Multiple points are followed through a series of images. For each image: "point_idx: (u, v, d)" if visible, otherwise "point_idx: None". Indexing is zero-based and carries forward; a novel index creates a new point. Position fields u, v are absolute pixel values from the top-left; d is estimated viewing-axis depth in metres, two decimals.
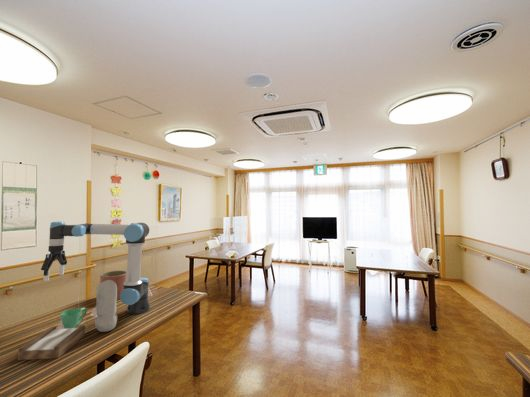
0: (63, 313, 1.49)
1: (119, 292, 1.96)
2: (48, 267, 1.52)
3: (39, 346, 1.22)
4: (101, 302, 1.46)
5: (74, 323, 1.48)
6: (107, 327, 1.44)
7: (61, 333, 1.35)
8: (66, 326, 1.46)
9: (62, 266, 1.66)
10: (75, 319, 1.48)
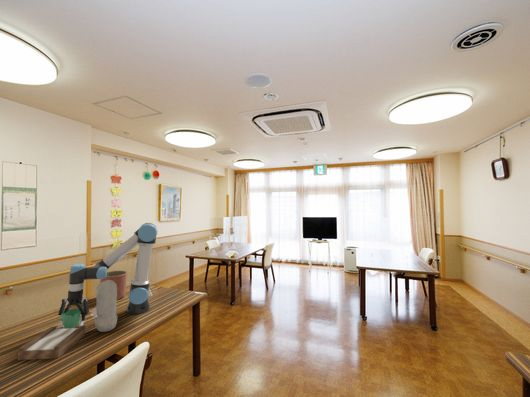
0: (63, 313, 1.49)
1: (119, 292, 1.96)
2: None
3: (39, 346, 1.22)
4: (101, 302, 1.46)
5: (74, 323, 1.48)
6: (107, 327, 1.44)
7: (61, 333, 1.35)
8: (66, 326, 1.46)
9: None
10: (75, 319, 1.48)
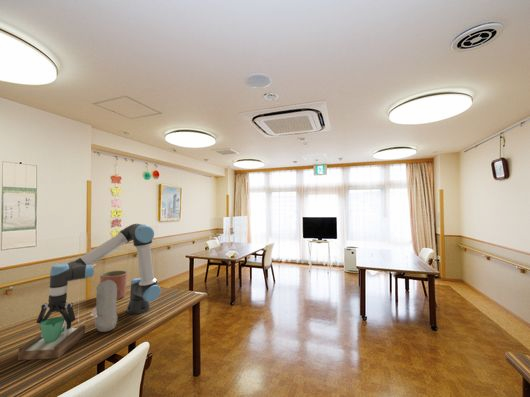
0: (43, 322, 1.29)
1: (119, 292, 1.96)
2: (41, 321, 1.29)
3: (39, 346, 1.22)
4: (101, 302, 1.46)
5: (56, 334, 1.27)
6: (107, 327, 1.44)
7: None
8: (46, 337, 1.25)
9: None
10: (57, 329, 1.27)
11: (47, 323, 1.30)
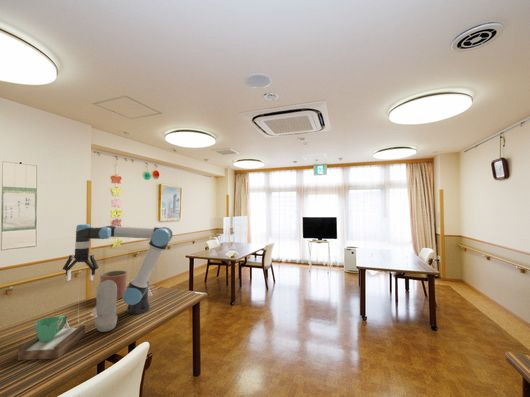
0: (38, 322, 1.28)
1: (119, 292, 1.96)
2: (67, 267, 1.57)
3: (39, 346, 1.22)
4: (101, 302, 1.46)
5: (51, 334, 1.27)
6: (107, 327, 1.44)
7: (61, 333, 1.35)
8: (41, 338, 1.25)
9: None
10: (52, 329, 1.27)
11: (42, 323, 1.30)
